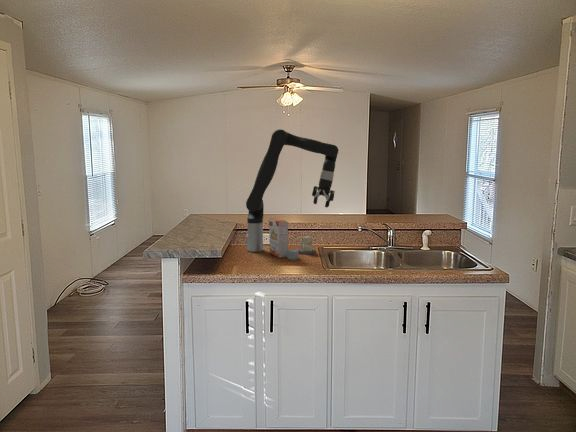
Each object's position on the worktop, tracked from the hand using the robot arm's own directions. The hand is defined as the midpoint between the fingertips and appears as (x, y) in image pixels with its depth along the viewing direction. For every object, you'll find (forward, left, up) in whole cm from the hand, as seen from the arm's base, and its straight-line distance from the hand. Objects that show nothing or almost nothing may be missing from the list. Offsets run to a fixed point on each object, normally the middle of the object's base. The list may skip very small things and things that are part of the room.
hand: (320, 205), depth 287 cm
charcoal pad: (-5, -7, -28) cm, 29 cm away
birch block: (-5, -7, -26) cm, 28 cm away
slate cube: (-3, -24, -28) cm, 37 cm away
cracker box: (-14, -22, -28) cm, 39 cm away
